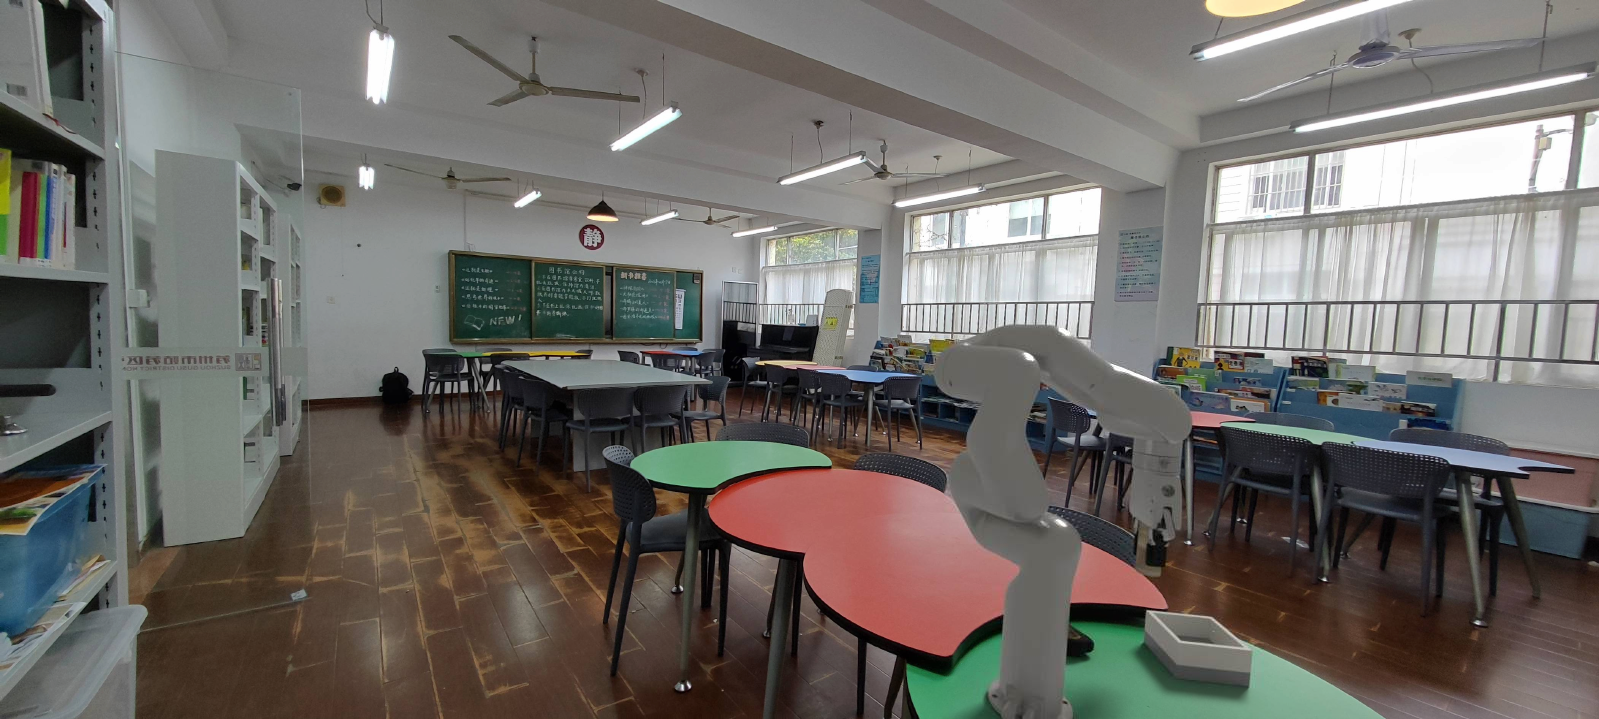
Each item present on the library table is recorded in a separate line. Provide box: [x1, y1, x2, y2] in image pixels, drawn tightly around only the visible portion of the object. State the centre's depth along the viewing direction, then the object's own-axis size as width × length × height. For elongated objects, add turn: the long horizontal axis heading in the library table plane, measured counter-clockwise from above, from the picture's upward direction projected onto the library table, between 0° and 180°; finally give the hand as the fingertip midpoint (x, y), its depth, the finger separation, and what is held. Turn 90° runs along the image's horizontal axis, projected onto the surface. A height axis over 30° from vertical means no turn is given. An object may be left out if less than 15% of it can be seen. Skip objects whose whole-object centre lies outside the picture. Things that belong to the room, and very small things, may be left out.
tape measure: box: [1066, 624, 1095, 657], centre depth 109 cm, size 7×7×4 cm
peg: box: [1134, 520, 1163, 578], centre depth 105 cm, size 4×4×10 cm
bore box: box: [1143, 609, 1253, 688], centre depth 106 cm, size 12×12×6 cm
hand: (1148, 559), depth 105 cm, fingers closed on peg, 4 cm apart
